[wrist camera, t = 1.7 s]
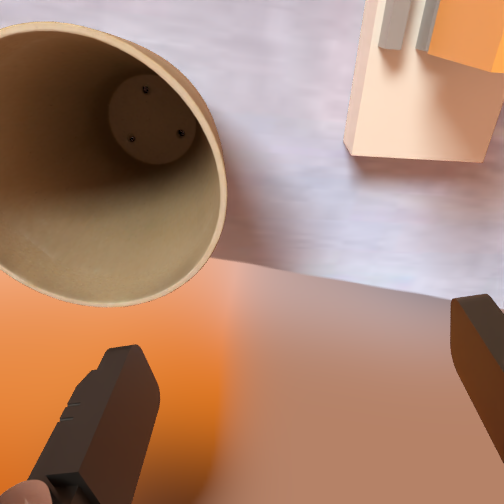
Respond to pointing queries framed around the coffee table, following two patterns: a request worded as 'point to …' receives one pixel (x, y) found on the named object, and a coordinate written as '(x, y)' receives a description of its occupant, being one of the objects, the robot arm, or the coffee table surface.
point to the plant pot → (103, 168)
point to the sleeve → (470, 33)
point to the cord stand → (416, 91)
